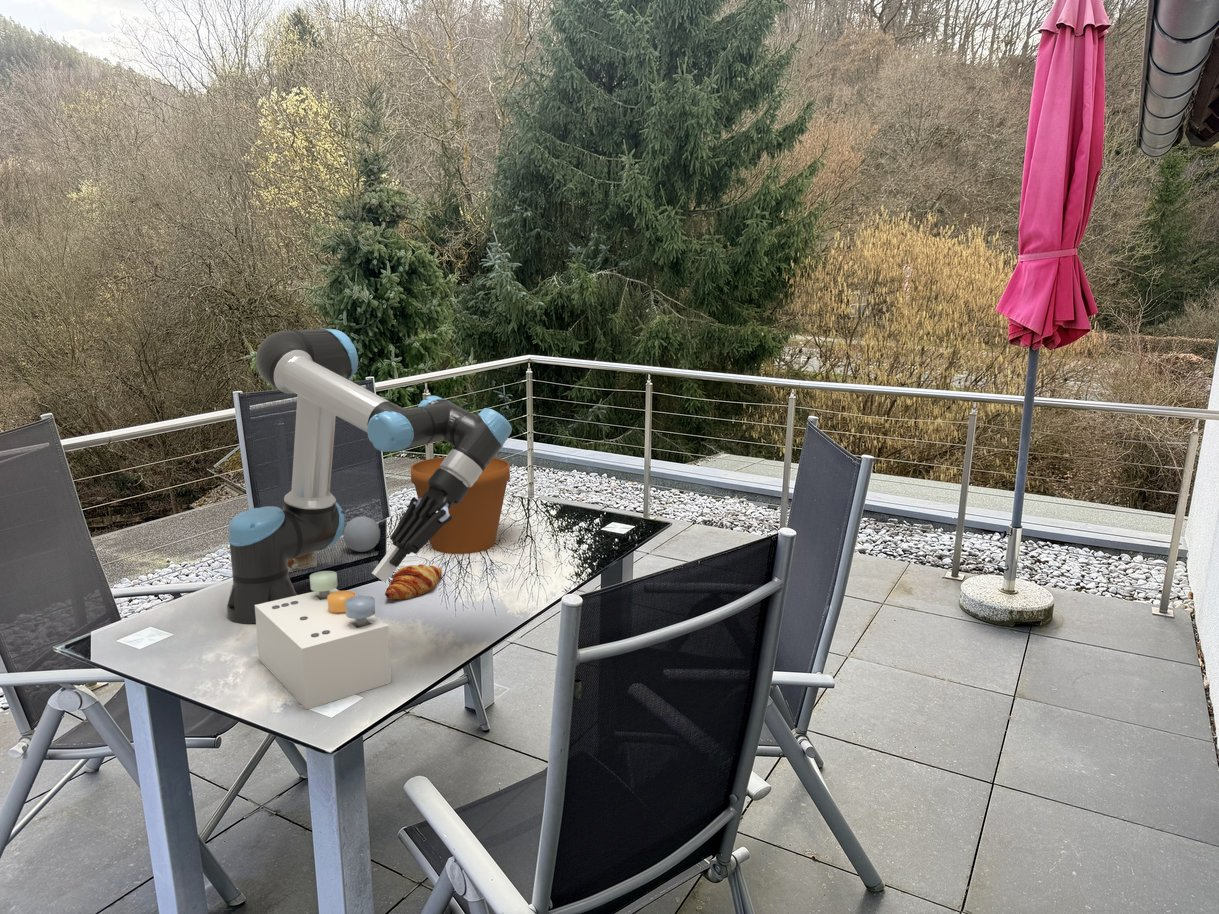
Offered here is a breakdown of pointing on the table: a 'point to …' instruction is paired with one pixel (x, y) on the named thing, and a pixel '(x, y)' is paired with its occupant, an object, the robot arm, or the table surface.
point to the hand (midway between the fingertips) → (378, 577)
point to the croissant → (413, 581)
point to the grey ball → (361, 534)
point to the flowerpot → (468, 508)
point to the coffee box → (302, 562)
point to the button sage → (323, 582)
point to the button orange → (339, 600)
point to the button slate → (360, 609)
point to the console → (321, 649)
